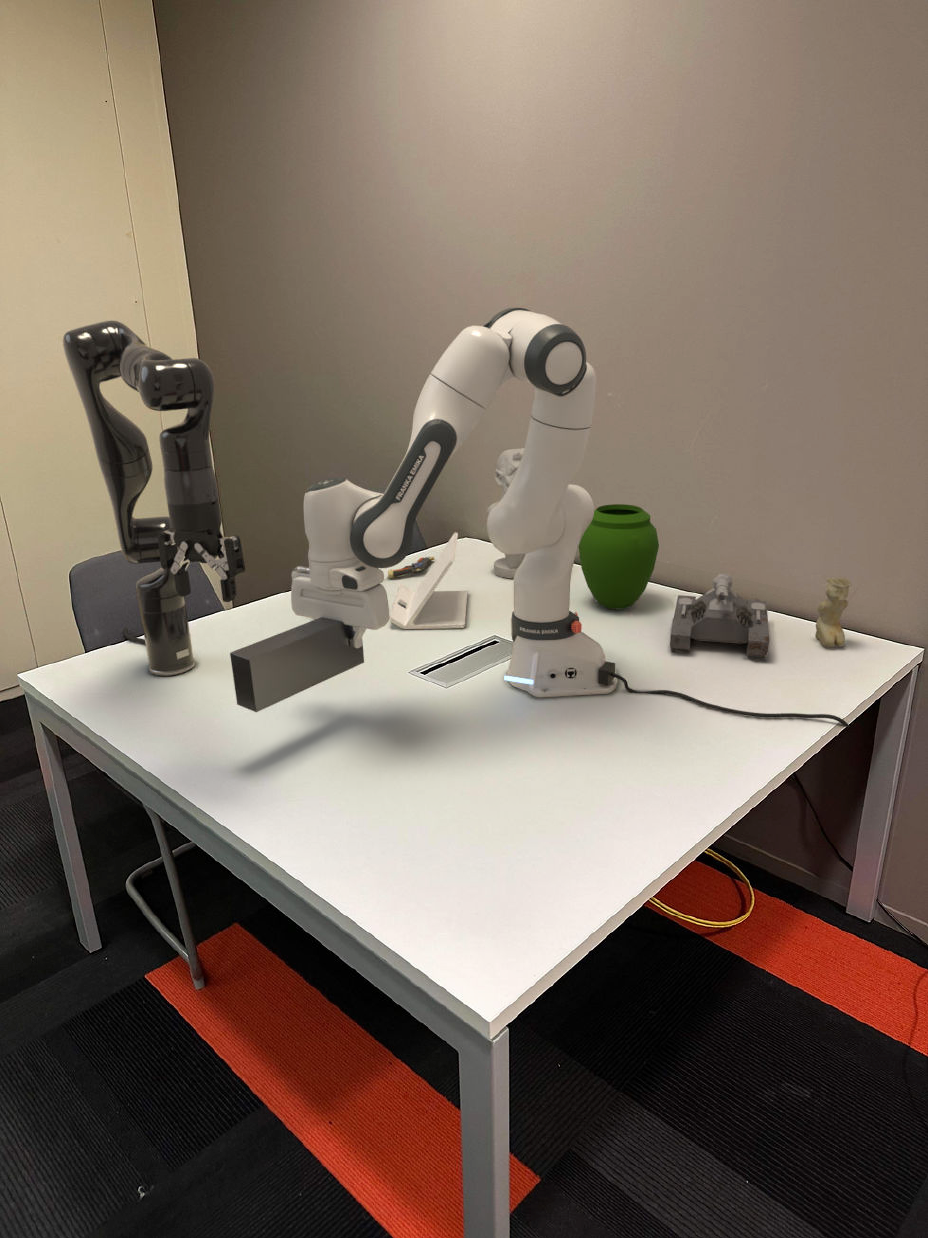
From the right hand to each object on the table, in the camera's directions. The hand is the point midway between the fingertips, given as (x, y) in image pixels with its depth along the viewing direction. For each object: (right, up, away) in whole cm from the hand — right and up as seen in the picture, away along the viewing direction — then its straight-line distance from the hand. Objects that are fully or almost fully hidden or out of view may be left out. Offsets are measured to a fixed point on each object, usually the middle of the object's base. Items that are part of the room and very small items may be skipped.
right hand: (342, 643), depth 155 cm
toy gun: (+7, +19, +91) cm, 93 cm away
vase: (+60, +8, +59) cm, 85 cm away
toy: (+80, 0, +37) cm, 88 cm away
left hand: (-18, +8, -21) cm, 29 cm away
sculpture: (+102, -1, +32) cm, 107 cm away
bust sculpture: (+39, +17, +84) cm, 94 cm away
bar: (-6, -7, -6) cm, 11 cm away
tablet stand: (+14, +6, +59) cm, 61 cm away
